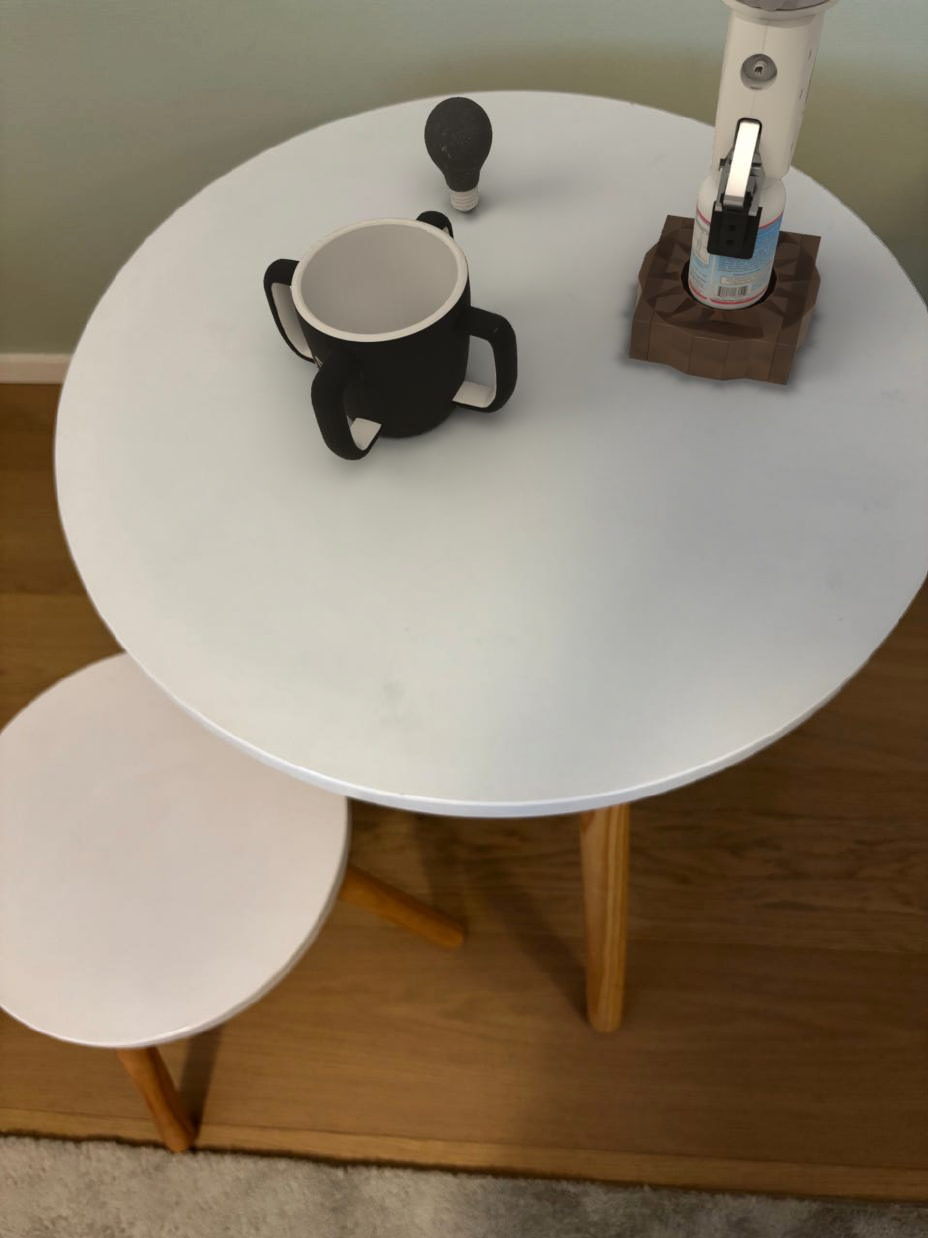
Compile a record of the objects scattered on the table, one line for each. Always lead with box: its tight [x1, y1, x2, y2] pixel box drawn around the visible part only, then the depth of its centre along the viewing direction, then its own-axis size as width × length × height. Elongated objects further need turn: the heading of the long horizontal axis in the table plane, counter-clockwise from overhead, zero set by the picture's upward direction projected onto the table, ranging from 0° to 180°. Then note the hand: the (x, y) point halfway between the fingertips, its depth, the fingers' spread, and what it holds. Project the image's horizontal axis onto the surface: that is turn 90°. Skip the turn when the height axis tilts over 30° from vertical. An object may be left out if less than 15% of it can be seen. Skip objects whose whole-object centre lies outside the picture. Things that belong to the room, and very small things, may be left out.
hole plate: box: [629, 214, 822, 386], centre depth 80 cm, size 13×13×4 cm
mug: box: [262, 210, 519, 461], centre depth 75 cm, size 16×16×12 cm
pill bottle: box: [688, 151, 787, 311], centre depth 74 cm, size 6×6×11 cm
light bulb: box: [423, 96, 494, 213], centre depth 87 cm, size 6×6×10 cm
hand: (739, 219), depth 74 cm, fingers closed on pill bottle, 6 cm apart
